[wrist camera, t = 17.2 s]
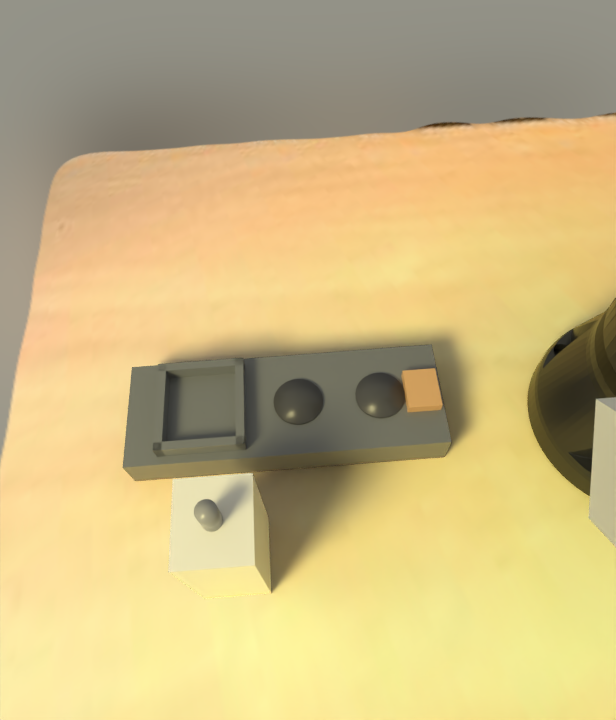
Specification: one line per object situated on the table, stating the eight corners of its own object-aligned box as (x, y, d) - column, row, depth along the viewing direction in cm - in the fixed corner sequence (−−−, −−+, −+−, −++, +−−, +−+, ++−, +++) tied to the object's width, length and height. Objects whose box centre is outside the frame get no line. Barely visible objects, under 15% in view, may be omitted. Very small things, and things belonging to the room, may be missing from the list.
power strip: (425, 363, 47) (433, 336, 44) (444, 457, 43) (454, 435, 40) (142, 385, 47) (127, 359, 43) (135, 481, 43) (117, 461, 39)
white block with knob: (268, 518, 41) (248, 460, 31) (271, 593, 39) (250, 557, 28) (205, 523, 41) (164, 467, 31) (204, 598, 39) (158, 564, 28)
